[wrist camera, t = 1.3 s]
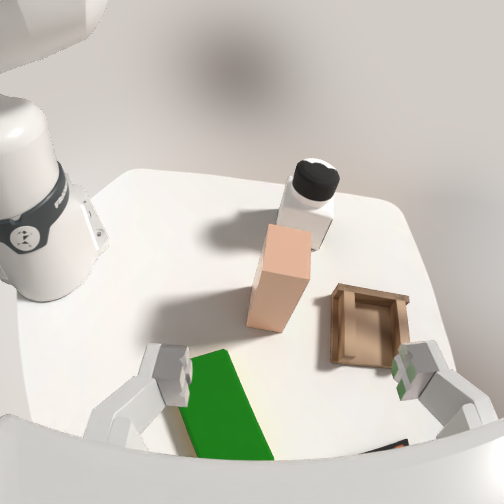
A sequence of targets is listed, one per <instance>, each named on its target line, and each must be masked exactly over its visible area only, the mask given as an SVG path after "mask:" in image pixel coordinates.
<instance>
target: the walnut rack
mask: <svg viewBox="0 0 504 504" xmlns="http://www.w3.org/2000/svg"><path fill="white" fill-rule="evenodd" d="M408 303H409V296H406V295H400V294H395V293H389V292H383V291H378V290H372V289H367V288H361V287H356V286H350V285H345V284H339V283H338V285H337V286H336V288H335V290H334V291H333V293H332V294H331V358H330V362H331V363H340V364H349V365H359V366H369V367H381V368H392V362H393V359H394V357H395V356H397V355H398V354H399V352H398V348H399V346H400V345H401V344H402V343H410V337H409V327H408V319H407V311H406V305H407V304H408Z"/></svg>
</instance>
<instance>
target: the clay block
mask: <svg viewBox="0 0 504 504" xmlns="http://www.w3.org/2000/svg"><path fill="white" fill-rule="evenodd" d="M310 264H311V232H308V231H303V230H298V229H293V228H289V227H284V226H279V225H274V224H269V225H268V229H267V233H266V237H265V240H264V244H263V248H262V252H261V255H260V259H259V263H258V267H257V270H256V274H255V278H254V282H253V285H252V291H251V298H250V304H249V310H248V316H247V322H246V327H252V328H257V329H263V330H268V331H274V332H280V333H282V332H283V330H284V328H285V326H286V324H287V322H288V320H289V319H290V317H291V315H292V313H293V311H294V309H295V307H296V305H297V304H298V302H299V300H300V298H301V296H302V294H303V292H304V290H305V288H306V286H307V284H308V282H309V280H310Z"/></svg>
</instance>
